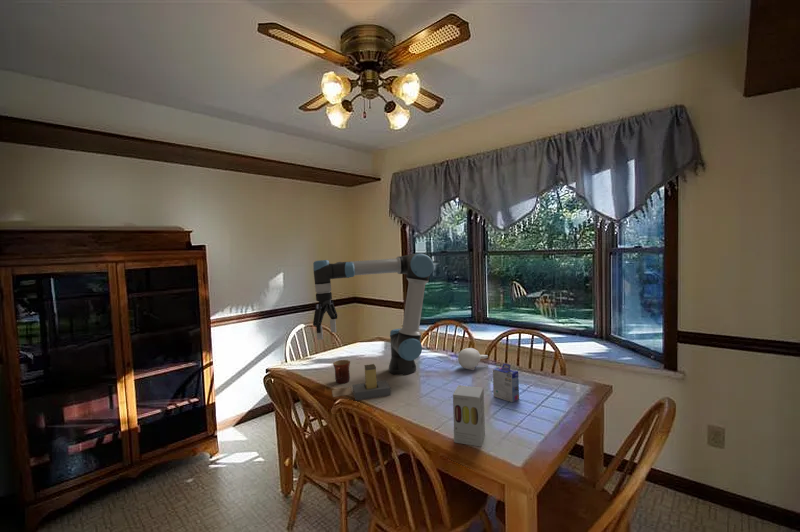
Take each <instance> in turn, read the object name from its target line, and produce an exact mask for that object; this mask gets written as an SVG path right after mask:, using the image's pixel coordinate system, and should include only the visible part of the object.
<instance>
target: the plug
mask: <svg viewBox="0 0 800 532" xmlns="http://www.w3.org/2000/svg"><path fill="white" fill-rule="evenodd" d="M364 380H365V383H366V389H373V388H377V366H376V365H375V364H374V363H371V364H364Z"/></svg>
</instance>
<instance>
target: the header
mask: <svg viewBox="0 0 800 532" xmlns="http://www.w3.org/2000/svg"><path fill="white" fill-rule="evenodd" d="M376 381H377V380H376ZM391 392H392V391H391V386H390V385H389V383H388V381H387V380H386V379H385V380H378V381H377V388H373V389H366V383H363V382H362V383H357V384H352V395H353V396H354V399H355V401H362V400H368V399H369V400H370V399H375V398H376V399H377V398H381V397H389V396H391V394H392V393H391Z"/></svg>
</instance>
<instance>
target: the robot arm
mask: <svg viewBox="0 0 800 532" xmlns="http://www.w3.org/2000/svg"><path fill="white" fill-rule="evenodd" d="M312 263H313V277H314V278H313V279H314V290H315V293H316V294H315V300H316V301H317V302H318V303H316V304H315V305H314V308H315V310H314V315H313V316H314V317H313V322H312V325H313V327H315V328H316V340H318V341H319V340H320V341H321V340H324V330H323V325H322V323H323V320H324V315H325V314H326V313H327V315H328V317H329V318H330V319H329V324H330V333H337V324H336V320H337V319H338V313H337V312H338V311H337V310H336V307H335V303H334V299H333V294H332V293H333V292H332V284H331V280H336V279H350V278H353V277H355V276H366V275H367V276H368V275H379V274H380V275H381V274H392V273H393V274H394V273H397V274H398V275H406V276H405V277H406V280H407V281H408V286H407V292H406V299H405V306H404V314H403V319H402V320H403V321H402V327H401V328H394V329H391V330H390V332H389V337H390V355H391V357H390V361H389V363H388V364H389V365H388V373H390V374H393V375H395V376H396V375H399V376H401V375H402V376H404V375H411V374H414V373H415V372H416V371H417V365H416V362H415V360H417V359H418V358H419V357H420V356H421V354H422V352H423V347H422V343H421V338H422V333H421V332H420V326H421V325H420V323H421V318H422V317H421V316H422V311H423V303H424V296H425V289H426V288H425V287H426V284H427V283H429V281H430V275H431V274H432V273H433V271H434V261H433V259H432V258H431V257H430V256H429V255H427V254H425V253H412V254H407V255H401V256H400V255H399V256H396V258H386V259H385V258H384V259H383V258H382V259H369V260H353V261H336V262H335V263H330V261H329V260H328V259H324V260H323V259H322V260H315V261H313V262H312Z"/></svg>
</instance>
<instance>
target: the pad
mask: <svg viewBox="0 0 800 532" xmlns="http://www.w3.org/2000/svg"><path fill="white" fill-rule="evenodd" d="M331 395H332V398H337V397H345V396H351V395H353V390H352V388H351V386H349V387H341V388H336V389H331Z"/></svg>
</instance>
